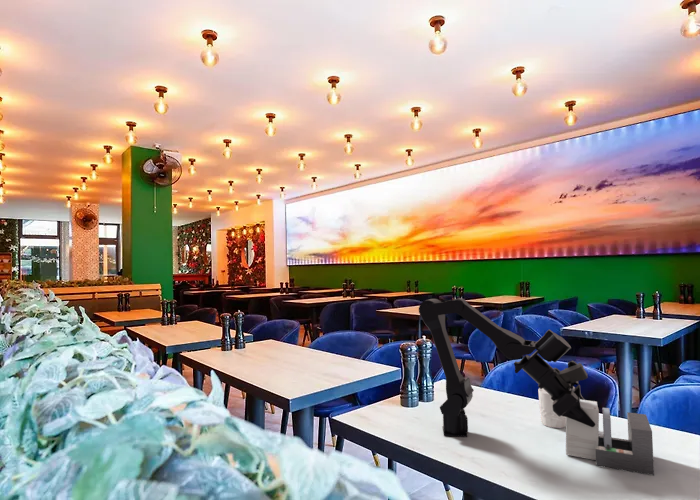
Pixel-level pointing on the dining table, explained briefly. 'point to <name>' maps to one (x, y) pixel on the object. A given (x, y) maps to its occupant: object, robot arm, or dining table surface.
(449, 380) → the robot arm
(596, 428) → the supplement box
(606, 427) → the pad
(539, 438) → the dining table surface
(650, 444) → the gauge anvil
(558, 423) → the white cup
